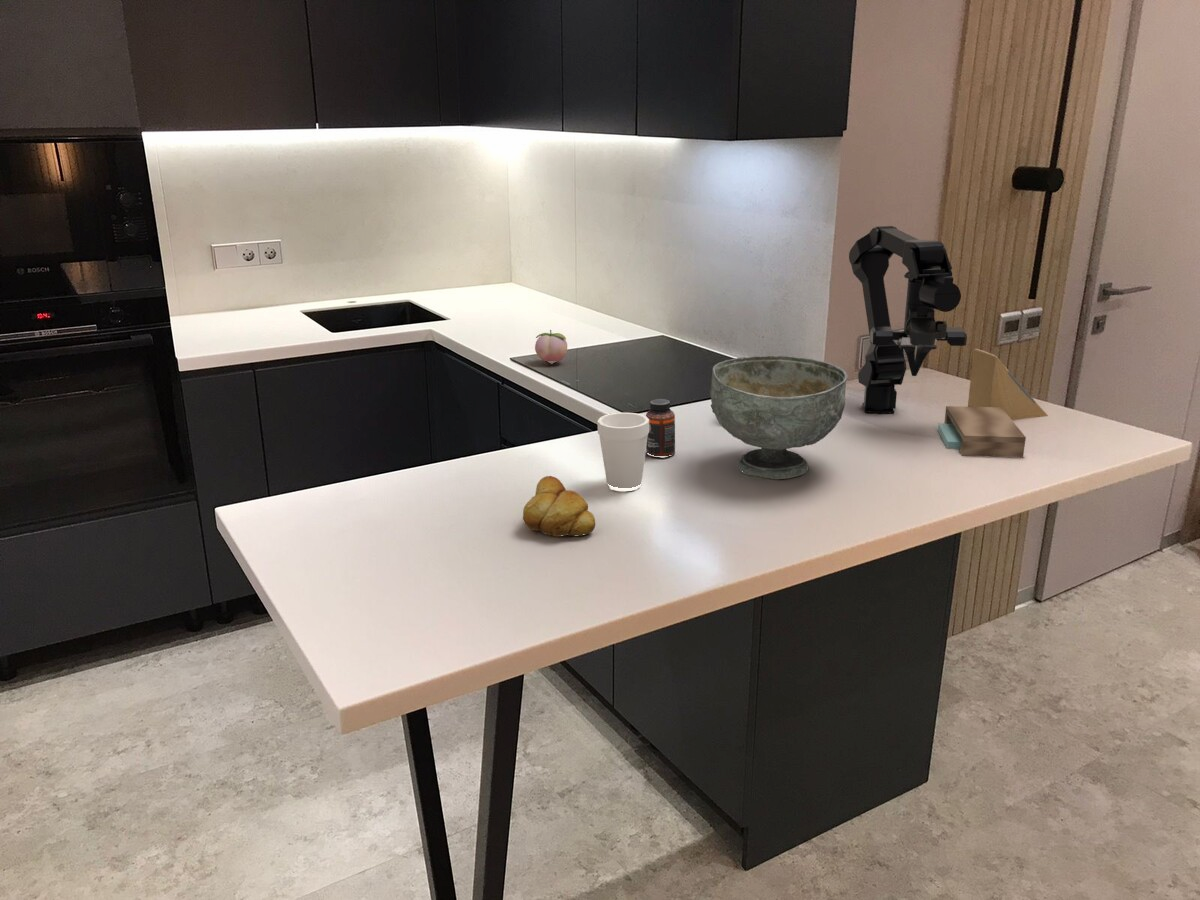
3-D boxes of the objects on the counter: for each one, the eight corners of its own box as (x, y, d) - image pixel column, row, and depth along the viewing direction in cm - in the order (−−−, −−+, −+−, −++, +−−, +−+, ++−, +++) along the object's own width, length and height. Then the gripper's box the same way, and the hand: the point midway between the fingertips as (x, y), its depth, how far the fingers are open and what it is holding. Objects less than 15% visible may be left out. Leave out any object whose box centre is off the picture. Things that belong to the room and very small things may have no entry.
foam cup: (613, 499, 170) (612, 431, 165) (590, 482, 177) (589, 417, 173) (658, 489, 174) (658, 422, 169) (634, 473, 181) (633, 409, 177)
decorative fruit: (572, 361, 266) (570, 326, 263) (564, 368, 259) (563, 333, 255) (540, 360, 268) (539, 326, 265) (532, 367, 261) (530, 332, 257)
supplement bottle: (679, 451, 193) (679, 399, 189) (669, 460, 188) (669, 407, 184) (652, 448, 195) (652, 396, 191) (641, 457, 190) (641, 404, 186)
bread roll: (607, 530, 157) (606, 486, 154) (569, 550, 150) (567, 504, 147) (550, 512, 165) (548, 469, 162) (512, 530, 158) (509, 486, 155)
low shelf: (962, 455, 186) (964, 435, 185) (944, 424, 205) (946, 406, 203) (1023, 457, 184) (1025, 437, 183) (999, 425, 203) (1001, 407, 202)
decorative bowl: (762, 434, 200) (765, 344, 192) (869, 464, 183) (876, 367, 175) (681, 472, 183) (681, 374, 175) (790, 509, 166) (795, 403, 158)
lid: (946, 450, 191) (947, 441, 190) (937, 432, 202) (938, 423, 201) (1008, 453, 189) (1010, 443, 188) (995, 434, 200) (997, 425, 199)
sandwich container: (1050, 416, 209) (1059, 351, 204) (988, 422, 206) (996, 356, 201) (1026, 406, 217) (1034, 342, 212) (966, 411, 214) (973, 347, 209)
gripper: (878, 310, 187) (872, 385, 192) (976, 310, 184) (967, 387, 189) (872, 299, 197) (867, 371, 203) (964, 300, 194) (957, 372, 200)
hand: (913, 375), depth 198 cm, fingers closed
